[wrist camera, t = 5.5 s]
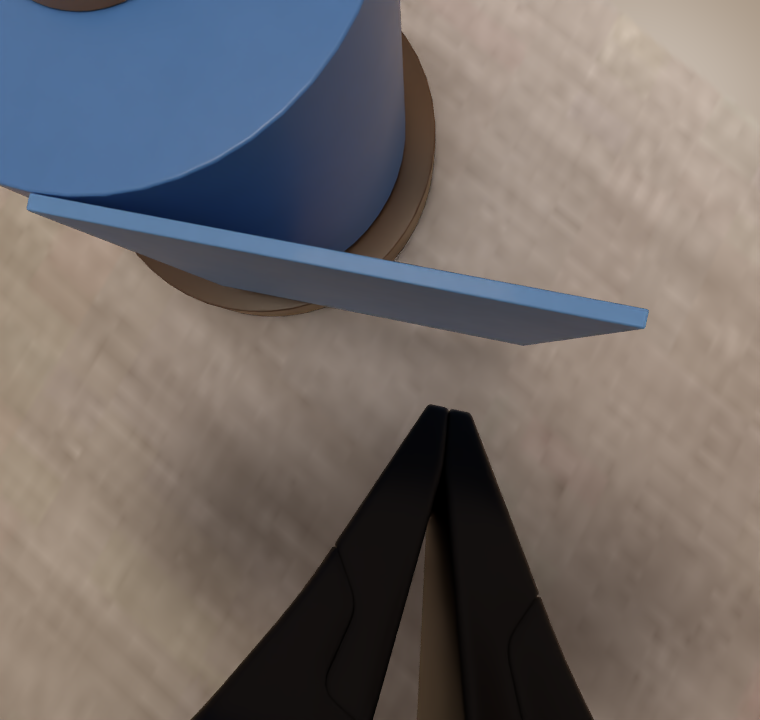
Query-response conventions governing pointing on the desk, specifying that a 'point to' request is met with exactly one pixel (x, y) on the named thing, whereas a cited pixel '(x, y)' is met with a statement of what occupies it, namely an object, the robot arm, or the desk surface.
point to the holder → (384, 231)
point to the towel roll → (243, 152)
